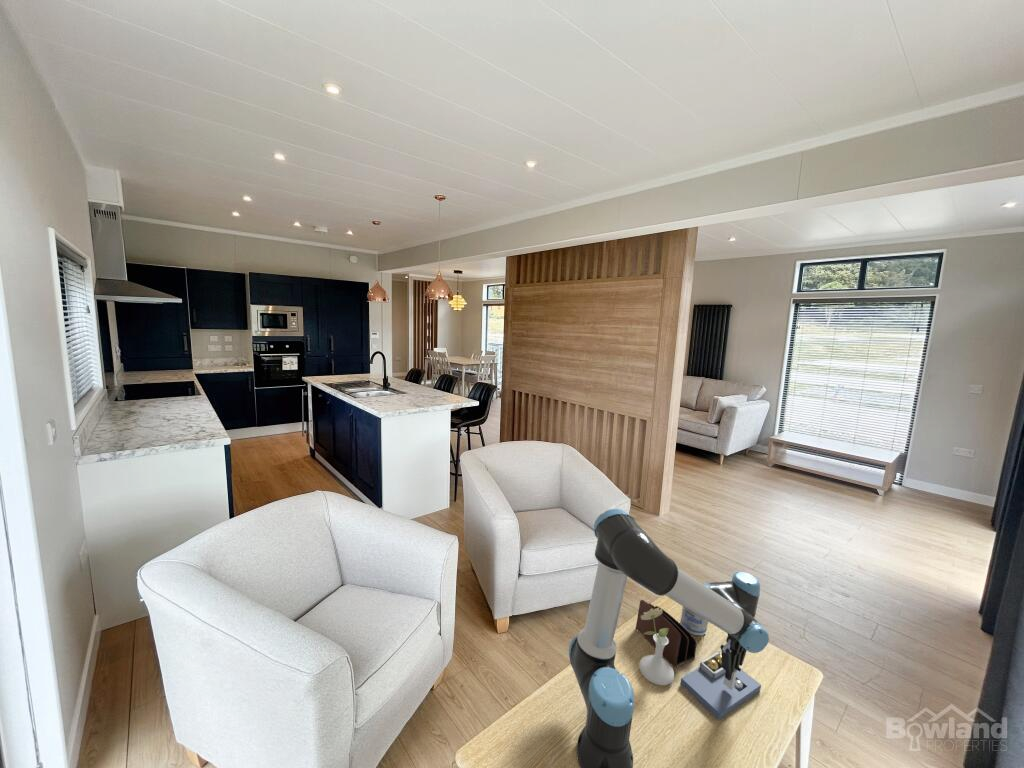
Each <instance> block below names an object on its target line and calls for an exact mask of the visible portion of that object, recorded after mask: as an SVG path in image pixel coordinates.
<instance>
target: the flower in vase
mask: <svg viewBox="0 0 1024 768" xmlns="http://www.w3.org/2000/svg"><path fill="white" fill-rule="evenodd" d="M662 609H663V608H661V609H660V610H659V608H657V609H654V610H653V609H650V611H648V612H644V613H643V614H644V615H642V616H640V617H641V619H643V620H649V619H653V621H654V618H656V617H658V616H659V615H661V614H662V612H663V610H664V609H663V610H662ZM654 629H655V622H654ZM668 629H669V628H663V629H660V630H659V633H656V629H655V632H652V631H648V632H645V633H644V634H647V635H652V634H654V633H656V634H654V635H653V639H654V641H655V643H656V648H655V652H654V654H648V655H644V656H643V657H642V658H641V659H640V661H639V665H638V667H639V670H640V672H641V674H642V675H643V677H644V678H645V679H646V680H647V681H649V682H650V683H652V684H655V685H657V686H667V685H669V684H671V683H672V682H673V681H674V680H675V671H674V669H673V666H672V665H671V664H670V663H669V662H668V660H667V659H666V658H664V657H663V655H662V653H663V649H664V647H665V645H667V644H668V643H669V640H668V638H667V637H666V635H667V633H668ZM644 634H643V635H644ZM643 635H642V636H643Z"/></svg>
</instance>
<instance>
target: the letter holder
mask: <svg viewBox="0 0 1024 768" xmlns="http://www.w3.org/2000/svg"><path fill="white" fill-rule="evenodd" d="M657 608H659V610H660V609H662V610H663V612H662V614H661V615H659V616H658V617H656V618H654V621H653V619H649V620H643V619H641V617H640V616H642V615H644V614H643V613H644V612H648V611H650V609H653V610H654V609H657ZM637 611H638V612H637V619H636V624H635V629H636V630H637V632H638V633H640V634H641V636H642V637H643V638H644V639H646V641H648V642H649V643H650V644H651V646H652V647H653V648H655V649H656V643H655V641H654V639H653V635H654V634H656V633H659V630H660V629H663V628H669V629H668V633H667V635H666V637H667V638H668V640H669V643H668V644H667V645H665V647H664V649H663V653H662V657H663V658H664V659H665V660H666V661H667V662H668V663H669V664H670V665H671V664H672V665H671V667H672V668H674V669H676V668H677V667H680V666H682V665H684V664H687V663H690V662H691V661H693V660H695V659H696V658H695V657H696V651H697V645H698V644H697V643H698V642H697V640H696V638H695V637H694V636H693V634H691V633H689V632H688V631H687V630H686V629H685V628H684V627H683V626H682V625H681V622H679V621H677V619H676V618H675V617H673V616H672V615H671V614H669V612H667V611H666V610H664V609H663V608H661V607H660V606H659V605H653V604H652V603H648V602H647V601H645V600H643V599H640V601H639V606H638V610H637ZM654 622H655V629H656V633H654V634H652V635H647V634H644V633H645V632H648V631H652V632H655V629H654ZM643 634H644V635H643Z"/></svg>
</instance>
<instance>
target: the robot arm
mask: <svg viewBox="0 0 1024 768" xmlns="http://www.w3.org/2000/svg"><path fill="white" fill-rule="evenodd" d="M593 532H594V536H595V537H596V539H597V540H596V546H595V549H594V550H595V551H594V557H595V559H596V560H597V562H598V563H597V568H596V573H595V577H594V581H593V587H592V592H591V596H590V597H591V598H590V601H589V606H588V611H587V614H586V615H587V616H586V620H585V625H584V628H583V629H581V630H580V631H579V632H578V633H577V634H576V636H574V637H572V639H571V640H570V643H569V648H568V657H569V663H570V666H571V668H572V670H573V673H574V675H575V678H576V680H577V681H576V682H577V684H578V687H579V688H580V692H581V694H582V697H583V700H584V701H583V702H584V703H585V705H586V721H585V725H584V727H583V728H582V730H581V732H580V733H579V735H578V738H577V743H576V744H577V745H576V757H577V758H578V759H577V758H576V759H577V762H578V765H579V766H580V768H634V767H633V766H634V754H633V751H632V745H631V742H630V737H631V728H632V723H633V722H632V721H633V714H634V711H635V694H634V690H633V689H634V688H633V686H632V684H631V682H630V681H629V679H628V678H627V677H626V676H625V674H624V673H620V671H619V670H618V669H617V668H616V667H615V659H616V654H617V644H616V641H615V640H614V639H615V633H616V629H617V624H618V621H619V616H620V611H621V606H622V602H623V598H624V593H625V588H626V586H627V585H626V584H627V580H628V578H629V579H631V580H632V581H634V582H635V583H637V584H638V585H640V586H642V588H644V589H647V590H648V591H650V592H652V593H653V594H655V595H656V596H660V597H661V596H663V597H664V596H666V597H668V598H669V599H671V600H672V601H674V602H676V603H677V604H679V605H681V606H682V607H683V606H684V607H685V608H687V609H689V610H690V611H692V612H693V613H695V614H697V615H698V616H700V617H702V618H703V619H705V620H707V621H708V623H710V624H711V625H713V626H714V627H717V628H718V629H720V630H721V631H723V632H725V633H726V634H727V637H726V639H725V641H726V643H725V645H724V644H721V645H720V646H719V648H720V650H721V654H722V668H723V669H724V670H726V671H725V677H724V684H725V685H726V686H727V687H728V688H729V689H731V690H732V689H734V686H735V680H736V674H737V670H738V671H739V672H740V671H741V669H742V668H741V667H742V666H743V664H744V661H745V658H746V653H747V652H748V653H752V654H757V653H760V652H762V651H764V650H765V648H766V647H767V646H768V644H769V641H770V637H769V632H768V631H767V630H766V629H765V628H764V627H763V625H762V624H761V623H760V622H759V621H758V620H757V619H755V618H756V615H757V608H758V603H759V599H760V592H761V583H760V581H759V579H758V578H756V577H755V576H754V575H752V574H751V573H748V572H746V571H737V572H735V573H734V574H733V575H732V578H731V580H730V581H727V580H726V581H720V582H719V581H717V582H716V581H715V582H714V581H713V582H705V583H704V582H703V583H701V582H700V581H699V580H697V579H695V578H694V577H692V576H691V575H690V574H688V573H687V572H685V571H683V570H682V569H680V568H679V567H678V564H677V563H676V561H674V560H673V559H672V558H670V557H669V556H667V555H666V554H665V553H664V551H663V550H661V549H660V548H659V546H657V544H656V543H655V542H654V541H653V540H652V538H651V537H650V536H649V535H648V534H647V532H645V531H644V529H643V528H642V527H641V526H640V525H639V524H638V523H637V521H636V520H635V517H633V516H632V515H630V514H629V513H628V512H627V511H625V510H623V509H620V508H611V509H608V510H605V511H604V512H603V513H601V514H600V515H598V516H597V518H596V520H595V521H594V524H593Z"/></svg>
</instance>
